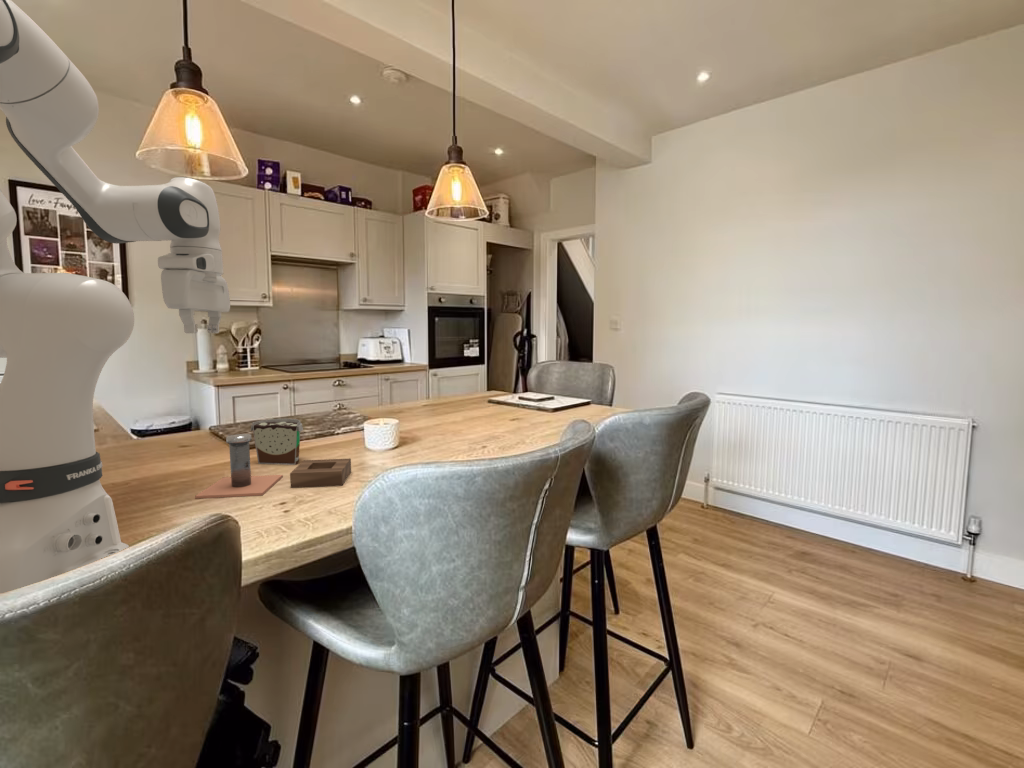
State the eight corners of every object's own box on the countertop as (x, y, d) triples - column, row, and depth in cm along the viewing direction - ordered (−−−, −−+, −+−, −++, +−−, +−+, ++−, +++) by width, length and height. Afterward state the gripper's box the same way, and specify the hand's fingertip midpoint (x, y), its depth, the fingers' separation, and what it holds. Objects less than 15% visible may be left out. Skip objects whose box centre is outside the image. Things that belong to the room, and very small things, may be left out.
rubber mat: (262, 495, 94) (262, 492, 94) (195, 498, 92) (195, 496, 92) (282, 476, 105) (282, 474, 105) (223, 479, 104) (223, 477, 104)
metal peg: (248, 487, 97) (246, 437, 96) (225, 488, 96) (222, 438, 95) (257, 481, 101) (254, 433, 100) (234, 482, 100) (231, 434, 99)
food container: (314, 458, 121) (312, 418, 120) (301, 464, 115) (299, 423, 114) (267, 457, 122) (265, 417, 121) (252, 463, 116) (249, 422, 115)
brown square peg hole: (342, 485, 99) (341, 471, 99) (290, 487, 98) (289, 473, 98) (351, 471, 109) (350, 458, 109) (304, 473, 108) (304, 460, 108)
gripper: (205, 270, 108) (210, 333, 110) (151, 257, 88) (158, 333, 90) (235, 271, 109) (240, 332, 111) (189, 257, 89) (195, 333, 91)
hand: (202, 333), depth 100 cm, fingers open, 8 cm apart
